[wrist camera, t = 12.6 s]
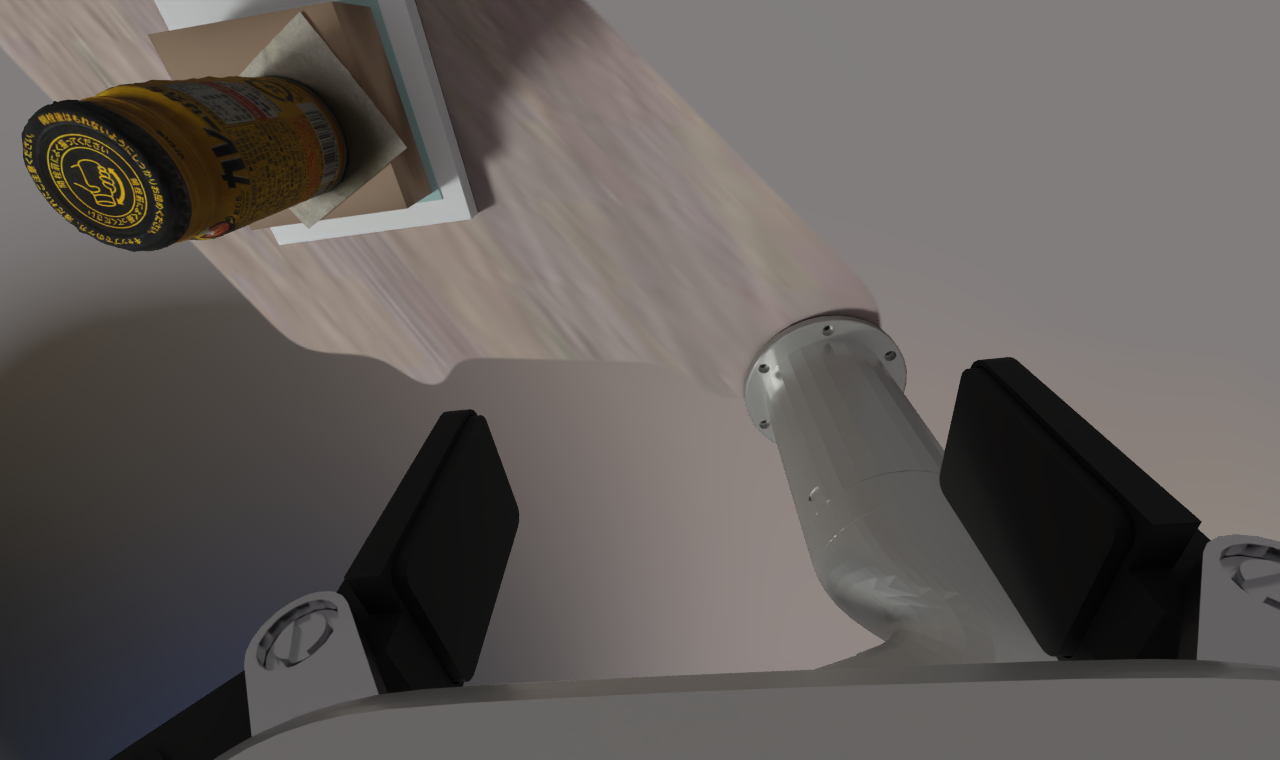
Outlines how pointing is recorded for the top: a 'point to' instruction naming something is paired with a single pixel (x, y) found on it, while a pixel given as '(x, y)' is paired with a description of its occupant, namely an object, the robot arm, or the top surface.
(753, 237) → the top surface
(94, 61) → the top surface
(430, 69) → the build board
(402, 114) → the base block
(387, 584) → the robot arm
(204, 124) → the condiment
